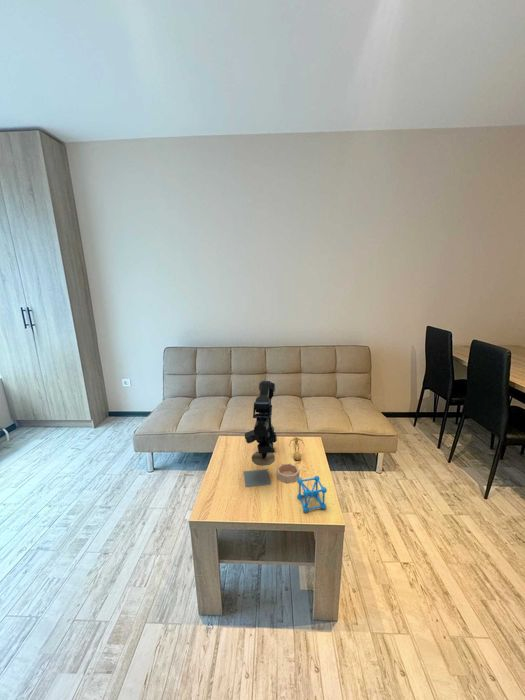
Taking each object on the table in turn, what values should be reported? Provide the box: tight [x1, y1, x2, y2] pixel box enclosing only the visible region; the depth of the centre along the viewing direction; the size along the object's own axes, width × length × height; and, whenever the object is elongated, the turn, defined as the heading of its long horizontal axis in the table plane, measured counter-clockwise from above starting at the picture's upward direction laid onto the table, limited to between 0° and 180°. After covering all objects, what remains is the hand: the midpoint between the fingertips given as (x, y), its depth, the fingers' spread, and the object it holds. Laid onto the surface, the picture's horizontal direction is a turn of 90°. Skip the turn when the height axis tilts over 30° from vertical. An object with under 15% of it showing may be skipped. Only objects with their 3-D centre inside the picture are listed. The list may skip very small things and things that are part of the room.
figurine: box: [288, 436, 305, 461], centre depth 159 cm, size 8×6×12 cm
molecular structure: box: [296, 475, 328, 513], centre depth 126 cm, size 10×10×10 cm
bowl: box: [276, 463, 300, 484], centre depth 145 cm, size 10×10×4 cm
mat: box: [243, 468, 272, 488], centre depth 144 cm, size 12×12×1 cm
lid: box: [251, 451, 276, 467], centre depth 142 cm, size 11×11×5 cm
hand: (263, 456), depth 142 cm, fingers closed on lid, 3 cm apart
